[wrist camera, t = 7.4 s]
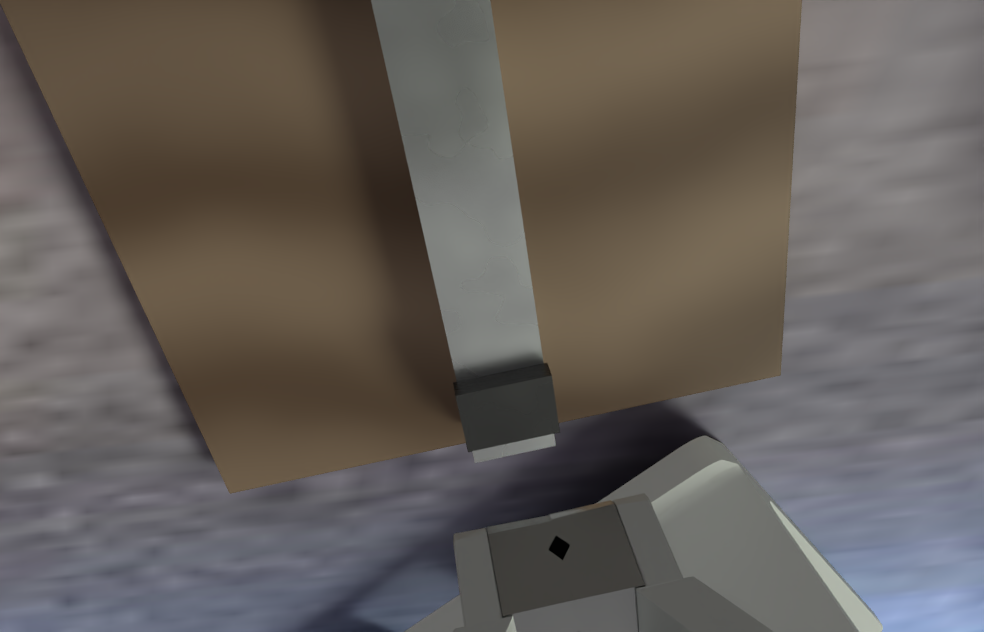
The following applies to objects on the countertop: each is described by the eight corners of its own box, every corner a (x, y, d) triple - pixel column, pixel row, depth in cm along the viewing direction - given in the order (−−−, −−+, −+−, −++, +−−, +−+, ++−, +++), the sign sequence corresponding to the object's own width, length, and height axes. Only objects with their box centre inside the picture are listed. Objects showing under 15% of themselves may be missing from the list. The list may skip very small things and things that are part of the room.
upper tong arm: (301, -177, 15) (294, -179, 14) (480, -210, 16) (496, -216, 14) (449, 434, 24) (457, 481, 22) (564, 409, 24) (580, 455, 22)
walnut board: (-53, -170, 16) (-81, -171, 15) (793, -323, 17) (820, -333, 16) (235, 467, 26) (229, 493, 25) (764, 354, 26) (780, 375, 25)
